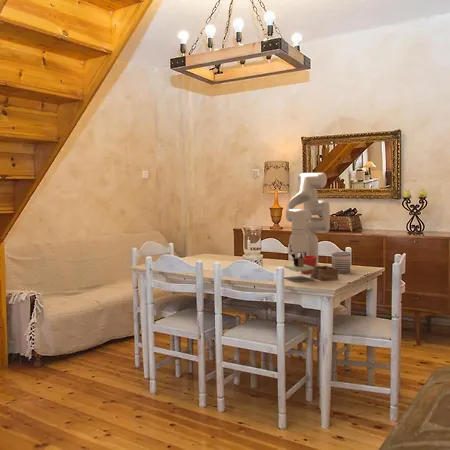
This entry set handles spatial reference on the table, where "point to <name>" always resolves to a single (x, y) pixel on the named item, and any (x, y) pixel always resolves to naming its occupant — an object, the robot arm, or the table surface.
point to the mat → (299, 279)
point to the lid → (299, 266)
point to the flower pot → (309, 263)
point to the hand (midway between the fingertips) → (298, 265)
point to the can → (341, 262)
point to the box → (324, 273)
